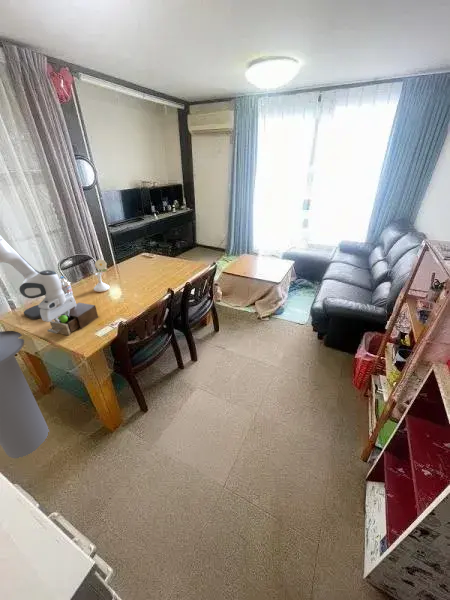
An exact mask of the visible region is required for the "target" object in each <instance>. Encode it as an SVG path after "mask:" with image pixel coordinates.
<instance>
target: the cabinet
mask: <svg viewBox="0 0 450 600" xmlns="http://www.w3.org/2000/svg"><path fill="white" fill-rule="evenodd" d="M62 315H66V312H65V313H63V314H62ZM69 316H70V317H75V318H77V320H78V324H79V327H78V328H77V329H79V330H82V329H83V328H85V327H86V326H88V325H89V324H91V323H92V322H93V321H95V320H96V319H97V318H99V315H98V310H97V307H96V305H95V304H89V303H84V302H76V306H75V307H73V308H72V309H70V313H69Z"/></svg>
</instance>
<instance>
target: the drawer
mask: <svg viewBox="0 0 450 600" xmlns="http://www.w3.org/2000/svg"><path fill="white" fill-rule="evenodd" d="M49 324H50V326H51V328H49V329H47V330H46V332H48V333H52V334H56V335H57V334H61V335H66V336H70V335H71V333H72V332H74V331H75V330H77V329H78V327H79V324H78V320H77V318H75V317H68V321H67V322H66V323H59V324H58V323H56V321H55V320H52V321H50V322H49Z"/></svg>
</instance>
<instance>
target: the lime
mask: <svg viewBox="0 0 450 600" xmlns="http://www.w3.org/2000/svg"><path fill="white" fill-rule="evenodd" d="M58 319H59V320H61V323H66V322H67V321H68V317H67V316H66V315H60V316H58Z"/></svg>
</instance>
